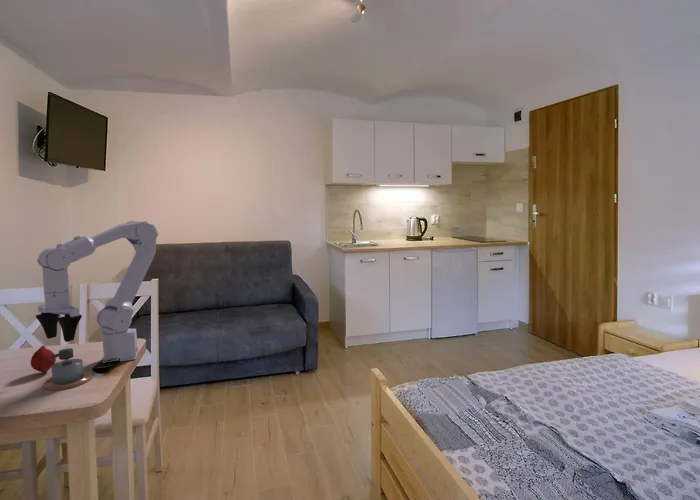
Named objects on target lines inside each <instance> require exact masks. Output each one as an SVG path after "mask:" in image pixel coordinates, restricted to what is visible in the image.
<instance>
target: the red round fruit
mask: <svg viewBox="0 0 700 500" xmlns="http://www.w3.org/2000/svg"><path fill="white" fill-rule="evenodd" d="M55 354H56V353H55V352H53V351H52V350H51V349H48V348H47V347H46V345H41V346H40V347H39V348H38V349H37V350H36V351H35V352H34V353H33V354H32V356H31V358H30V366H31V368H32V369H33V370H35V371H37V372H39V373H42V374H44V373H45V374H46V373H48V371H50V370H51V366H52V365H53V364H55V363H57V360H56V359H57V358H54V359H49V356H52V355H55Z"/></svg>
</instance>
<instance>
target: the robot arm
mask: <svg viewBox="0 0 700 500" xmlns="http://www.w3.org/2000/svg"><path fill="white" fill-rule="evenodd" d="M158 235H159V232H158V230H157V227H156V226H155V224H154V223H153V222H151V221H148V220H145V221H137V220H136V221H135V220H129V221H127V222H122V223H119V224H118V225H115V226H112V227H110V228H108V229H106V230H104V231H102V232H100V233H97V234H96V235H93V236H90V237H88V236H85V235H82V236H80V235H76V236H74V237H73V239H72V240H70V241H66V242H64V243H57V244H55V245H56V246H55V248H54V247H48V248H46V249H44V250H42V251H41V252H40V253H39V255H38V258H36V260H37V263H38V265H39V266H40V267H41V268H42V269H41V270H42V283H43V293H44V294H43V295H44V296H43V297H44V303H43V304H38V306H37V310H38V313H40V314H36V315H35V318H36V320H37V321H38V322H39V323H40V325H41V327H42V329H43V331H44V334H45V337H46V339H48V340H49V339H52V338H53V339H54V338H56V337H57V335H58V323H59V325H60V328H61V331H62V337H63V340H64V342H65V343H69V342H71V341H74V340H75V336H76V331H77V328H78V325H79V323H80V321H81V320H82V317H83V316H82V314H80V309H79V308H78V307H75V306H74V305H71V297H70V296H71V295H70V287H69V286H70V283H69V274H68V273H69V272H68V267H69V266H70V265H71V264H72V263H75V262H77V261H80V260H81V259H84V258H87V257H89V256H91V255H93V254H94V252H95V251H96V248H98V247H101V246H105V245H107V244H109V243H112V242H115V241H117V240H120V239H126V240H127V241H128V242H129V243H130V244H131V245H132V247H133V249H134V251H135V254H134V256H133V258H132V259H131V262H130V264H129V266H128V268H127V270H126V271H125V274H124V276H123V278H122V280H121V282H120V284H119V286H118V288H117V290H116V292H115V294H114V296H113V297H112V298H111V299H110V300H109V301H107V302H106V304H105V306H104V307H103V308H102V309H100V310H99V312H98V313H97V315H96V322H97V324H98V326H100V327H101V338H102V339H101V341H102V350H103V351H102V352H103V357H102V360H103V359H105V358H120V362H125V361H132V360H133V361H134V360H136V359H137V356H138V353H139V345H138V335H137V329H136V328H130V326H131V324H132V320H133V318H132V317H133V314H134V312H135V309H134V306H133V301H135V298H136V296H137V294H138V291H139V289H140V287H141V284H142V283H143V281H144V278H145V277H146V275H147V272H148V270H149V268H150V266H151V264H152V262H153V260H154V257H155V255H156V253H157V237H158ZM60 315H62V316H60ZM102 360H101V361H102Z"/></svg>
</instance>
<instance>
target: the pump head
mask: <svg viewBox="0 0 700 500" xmlns="http://www.w3.org/2000/svg"><path fill="white" fill-rule="evenodd" d="M54 354H55V355H52V356H49V359H54V358H56V359H57V358H58V360H60V361H64V360H65V362H68V361H69V359H73V358H74V349H73V348H70V347H69V348H68V347H67V348H64V349H60V350H58V352H57V353H54Z"/></svg>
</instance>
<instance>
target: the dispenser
mask: <svg viewBox="0 0 700 500" xmlns="http://www.w3.org/2000/svg"><path fill="white" fill-rule="evenodd" d="M83 363H84V362H83V360H82V359H81V358H80V359H79V358H70V359H69V361H68V362H65V360H60V361H58V362H57V361H56V362H55V364H53V365H52V366H51V368H50V370H51V376H52V377H51V378H49V379H47V380H46V381H45V382H44V383H43V388H44V389H45V390H47V391H62V390H69V389H72V388H76V387H79V386H82V385H84V384H86V383H88V382H90V381H91V380H92V379H93V373H92V372H91V371H86V370H84V365H83Z"/></svg>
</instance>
